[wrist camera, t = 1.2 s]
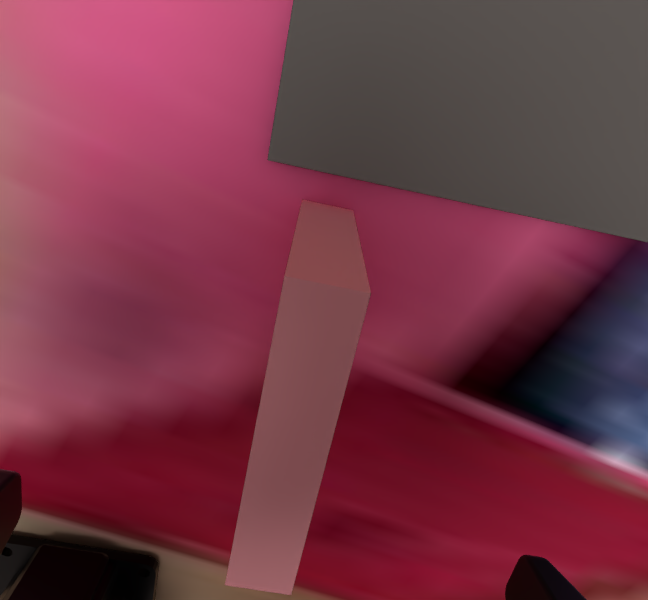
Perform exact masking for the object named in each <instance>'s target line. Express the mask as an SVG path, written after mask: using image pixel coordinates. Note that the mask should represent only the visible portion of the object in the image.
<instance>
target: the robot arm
mask: <svg viewBox="0 0 648 600" xmlns="http://www.w3.org/2000/svg"><path fill="white" fill-rule="evenodd" d="M21 510H22V493H21V476H20V474H19V473H17V472H15V471H8V470H2V469H0V600H155V594H156V585H157V577H158V568H159V565H158V562H157V560H156V559H154V558H153V557H150V556H146V555H139V554H133V553H126V552H120V551H114V550H107V549H101V548H94V547H88V546H81V545H75V544H69V543H62V542H56V541H49V540H43V539H36V538H30V537H23V536H17V535H11V534H12V532H13V530H14V528H15V527H16V525H17V523H18V520H19V518H20V515H21ZM505 598H506V600H586V599H585V598H584V597H583V596H582V595H581V594H580V593H579V592H578V591H577V589H576V588H575V587H574V586H573V585H572V584H571V583H570V582H569V581H568V580H567V579H566V578H565V577H564V576H563V575H562V574H561V573H560V572H559V571H558V570H557V569H556V568H555V567H554V566H553V565H552V564H551V563H550V562H549V561H548V560H546V559H545V558H542V557H537V556H531V555H523V556H521V557H520V558H519V560H518V562H517V564H516V566H515V568H514V570H513V572H512V574H511V576H510V579H509V581H508V583H507V585H506V591H505Z"/></svg>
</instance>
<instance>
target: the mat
mask: <svg viewBox="0 0 648 600" xmlns="http://www.w3.org/2000/svg"><path fill="white" fill-rule="evenodd" d="M268 160H270V161H274V162H279V163H283V164H288V165H293V166H297V167H302V168H307V169H311V170H316V171H320V172H325V173H330V174H334V175H339V176H344V177H348V178H353V179H357V180H362V181H367V182H371V183H376V184H381V185H385V186H390V187H394V188H399V189H404V190H408V191H413V192H418V193H422V194H427V195H431V196H436V197H441V198H445V199H450V200H455V201H459V202H464V203H468V204H473V205H478V206H482V207H487V208H492V209H496V210H501V211H505V212H510V213H515V214H519V215H524V216H529V217H533V218H538V219H542V220H547V221H552V222H556V223H561V224H566V225H570V226H575V227H579V228H584V229H589V230H593V231H598V232H603V233H607V234H612V235H616V236H621V237H626V238H630V239H635V240H640V241H644V242H648V0H293V7H292V13H291V19H290V25H289V31H288V37H287V43H286V49H285V56H284V62H283V68H282V74H281V80H280V86H279V92H278V98H277V105H276V111H275V117H274V123H273V129H272V135H271V141H270V147H269V154H268Z"/></svg>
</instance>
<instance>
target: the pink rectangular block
mask: <svg viewBox="0 0 648 600" xmlns="http://www.w3.org/2000/svg"><path fill="white" fill-rule="evenodd" d="M370 295H371V291H370V286H369V282H368V277H367V272H366V268H365V263H364V258H363V254H362V249H361V244H360V240H359V235H358V230H357V226H356V221H355V216H354V212H353V210H350V209H345V208H341V207H336V206H331V205H326V204H322V203H317V202H312V201H308V200H303V199H302V203H301V207H300V211H299V216H298V220H297V224H296V228H295V233H294V237H293V241H292V246H291V250H290V254H289V258H288V263H287V267H286V271H285V275H284V281H283V286H282V291H281V296H280V301H279V307H278V312H277V317H276V322H275V327H274V333H273V338H272V343H271V348H270V353H269V359H268V364H267V369H266V374H265V379H264V385H263V390H262V395H261V400H260V405H259V411H258V416H257V421H256V426H255V431H254V437H253V442H252V447H251V452H250V457H249V463H248V468H247V473H246V478H245V484H244V489H243V494H242V499H241V504H240V510H239V515H238V520H237V525H236V530H235V536H234V541H233V546H232V551H231V556H230V562H229V567H228V572H227V577H226V582H225V585H228V586H234V587H241V588H247V589H254V590H260V591H267V592H273V593H280V594H286V595H291V593H292V589H293V585H294V582H295V578H296V574H297V570H298V567H299V563H300V559H301V555H302V552H303V548H304V544H305V540H306V536H307V533H308V529H309V525H310V521H311V518H312V514H313V510H314V506H315V503H316V499H317V495H318V491H319V487H320V484H321V480H322V476H323V472H324V469H325V465H326V461H327V457H328V454H329V450H330V446H331V442H332V438H333V435H334V431H335V427H336V423H337V420H338V416H339V412H340V408H341V405H342V401H343V397H344V393H345V390H346V386H347V382H348V378H349V374H350V371H351V367H352V363H353V359H354V356H355V352H356V348H357V344H358V341H359V337H360V333H361V329H362V325H363V322H364V318H365V314H366V310H367V307H368V303H369V299H370Z"/></svg>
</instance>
